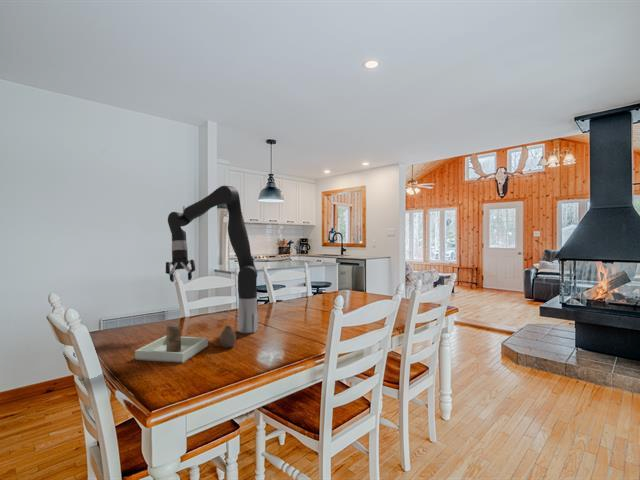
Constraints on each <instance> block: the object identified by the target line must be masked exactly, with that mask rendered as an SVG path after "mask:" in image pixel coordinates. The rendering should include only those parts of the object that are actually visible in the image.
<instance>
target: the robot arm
mask: <svg viewBox="0 0 640 480" xmlns="http://www.w3.org/2000/svg"><path fill="white" fill-rule="evenodd" d="M220 205H226V208H227V211H228V212H227V213H228V220H227V221H228V222H227V233H228V239H229V242H230V245H231V247H232V250H233V252H234V254H235V257H236V258H237V263H238V270H239V271H238V273H237V293H238V299H237V301H238V302H237V303H238V304H237V305H238V313H237V315H238V316H237V317H238V318H237V319H238V320H237V324H238V325H237V326H238V327H237V328H238V329H237V332H239V334H240V333H241V334H254V333H256V332H257V331H258V330H259V311H257V309H258V304H257V303H258V291H257V287H258V285H257V284H258V282H257V278H258V270H257V268H256V265H255V262H254V259H253V258H252V257H253V256H252V252H251V245H250V240H249V235H248V231H247V228H246V225H245V220H244V216H243V212H242V206H241V199H240V194H239V191H238V189H237V188H236V187H234V186H230V185H221V186H219V187H217V188H216V189H215V190H213V191H212V192H211V193H209V194H208V195H206V196H205V197H204V198H202V199H201V200H199V201H196V202H195V203H194V202H193V203H192V204H191V205H188V206H187V207H185V208H184V209H183V212H178V211H172V212H170V213H169V214H168V216H167V224H168V227H169V231H170V233H171V259H172V260H171V261H170V262H169V261H166V262H165V274H167V275H169V281H170V282H171V283H173V282H175V275H174V274H175V273H176V271H177V270H185V271H187V281H191V280H192V279H193V275H192V273H193V272H195V271H196V264H195V259H190V260H189V259H188V257H189V256H188V243H187V232H186V231H185V230H184V229H183V228H182V227H186V226H187V225H189V224H190V223H192V221H194V220H195V219H197V218H199V217H201V216H202V215H205V214H206V213H207V212H208V211H209V210H210V209H212V208H214V207H217V206H220ZM189 265H190V267H191V268H190V267H189ZM171 267H172V268H171ZM170 268H171V269H170Z"/></svg>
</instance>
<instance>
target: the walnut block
mask: <svg viewBox="0 0 640 480" xmlns="http://www.w3.org/2000/svg"><path fill="white" fill-rule="evenodd" d="M166 336H167V340H166V350H167V352H180V351H181V337H182V327H181V326H180V325H179V324H174V325H169V326H166Z"/></svg>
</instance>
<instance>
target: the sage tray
mask: <svg viewBox="0 0 640 480" xmlns="http://www.w3.org/2000/svg"><path fill="white" fill-rule="evenodd" d="M166 340H167V335H164V336H163V337H160V338H158V339H156V340H154V341H152V342H150V343H148V344H146V345H144V346H141V347H139V348H138V349H136V350H134V353H135V354H134V360H137V361H150V362H152V361H153V362H163V363H164V362H165V363H166V362H167V363H180V364H182V363H185V362H186V361H188V360H190V359H191V358H192V357H194V356H195V355H196V354H199V352H201V351H203V350H204V349H205V348H207V347H209V345H208V344H209V342H208V341H209V338H208V337H196V336H195V337H194V336H181V351H180V352H167V350H166Z"/></svg>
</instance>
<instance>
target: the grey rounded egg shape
mask: <svg viewBox="0 0 640 480" xmlns="http://www.w3.org/2000/svg"><path fill="white" fill-rule="evenodd" d="M236 341H237V335H236V332H235V330H234V329H233V328H232V326H231V325H226V326H225V327H224V329H223V330H222V332H221V333H220V336H219V343H220V345H221V347H223V348H226V349H229V348H232V347H233V346H234V345H235V344H236Z"/></svg>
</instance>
